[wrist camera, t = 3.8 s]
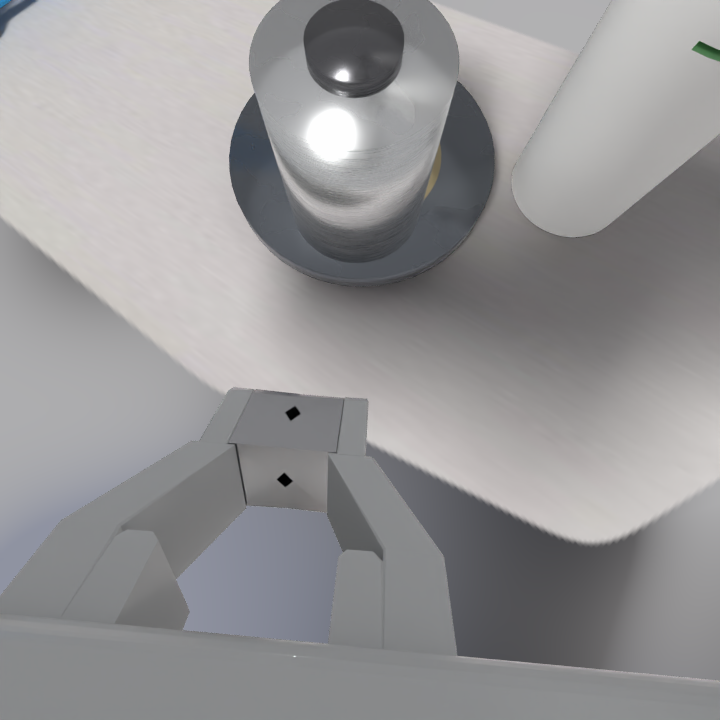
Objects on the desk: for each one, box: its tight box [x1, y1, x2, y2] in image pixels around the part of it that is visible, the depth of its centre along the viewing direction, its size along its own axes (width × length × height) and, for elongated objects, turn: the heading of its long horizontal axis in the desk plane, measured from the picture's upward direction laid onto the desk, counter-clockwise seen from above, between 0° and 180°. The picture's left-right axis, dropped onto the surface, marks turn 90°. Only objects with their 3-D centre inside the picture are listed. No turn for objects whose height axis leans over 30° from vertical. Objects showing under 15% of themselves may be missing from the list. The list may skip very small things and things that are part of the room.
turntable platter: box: [229, 81, 494, 287], centre depth 21 cm, size 15×15×1 cm
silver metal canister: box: [249, 0, 459, 263], centre depth 16 cm, size 7×7×9 cm
